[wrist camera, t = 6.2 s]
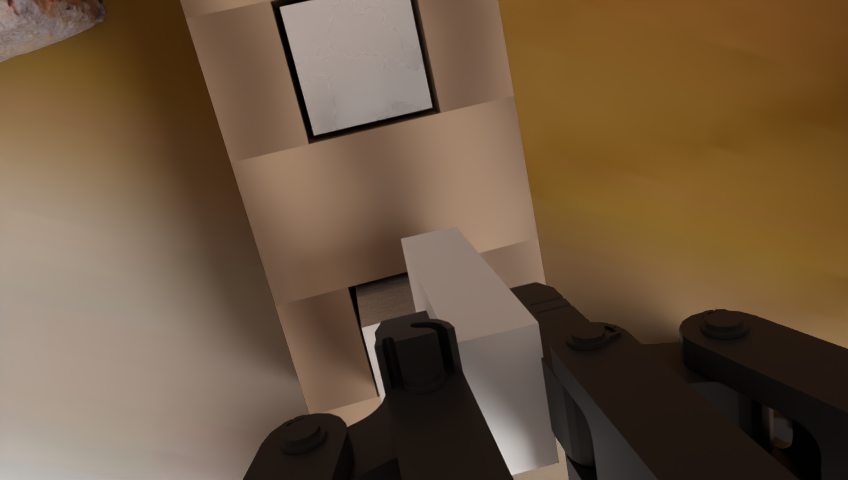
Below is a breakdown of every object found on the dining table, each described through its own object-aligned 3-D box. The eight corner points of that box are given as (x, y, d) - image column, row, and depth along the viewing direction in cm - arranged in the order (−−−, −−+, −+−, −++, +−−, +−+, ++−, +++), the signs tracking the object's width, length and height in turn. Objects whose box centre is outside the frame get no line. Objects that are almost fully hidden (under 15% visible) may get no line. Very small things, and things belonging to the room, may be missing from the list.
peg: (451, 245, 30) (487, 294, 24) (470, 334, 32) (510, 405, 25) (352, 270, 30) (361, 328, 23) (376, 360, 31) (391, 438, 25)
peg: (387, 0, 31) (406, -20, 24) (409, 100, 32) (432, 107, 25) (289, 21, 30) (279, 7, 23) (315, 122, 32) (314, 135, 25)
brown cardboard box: (437, -86, 31) (474, -137, 23) (516, 337, 38) (565, 404, 30) (199, -36, 30) (157, -74, 22) (326, 389, 37) (327, 472, 29)
